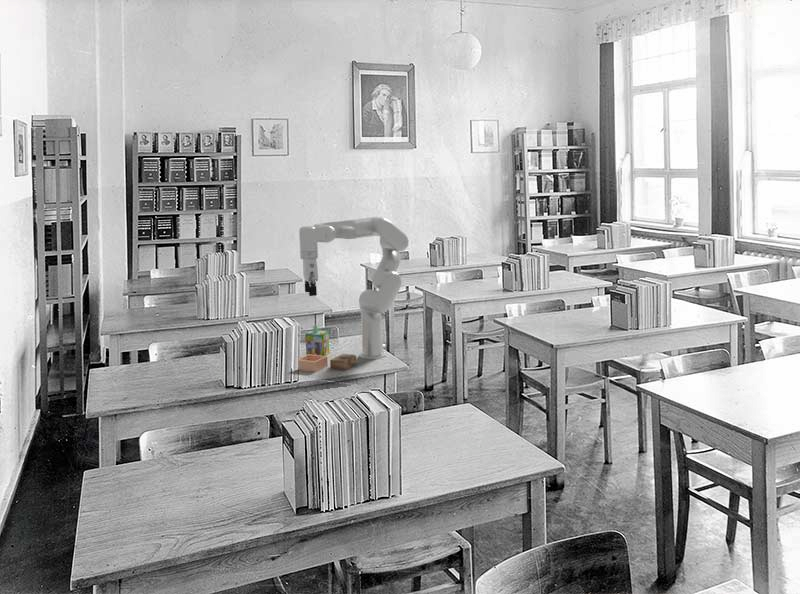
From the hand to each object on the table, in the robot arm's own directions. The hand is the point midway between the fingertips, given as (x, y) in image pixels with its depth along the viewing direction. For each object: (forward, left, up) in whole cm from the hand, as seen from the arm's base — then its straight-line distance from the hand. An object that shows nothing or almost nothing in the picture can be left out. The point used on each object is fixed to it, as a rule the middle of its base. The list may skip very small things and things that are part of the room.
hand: (310, 293), depth 321 cm
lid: (-5, +12, -33) cm, 36 cm away
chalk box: (-18, -9, -34) cm, 40 cm away
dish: (+2, 0, -34) cm, 34 cm away
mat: (-5, +12, -34) cm, 36 cm away
